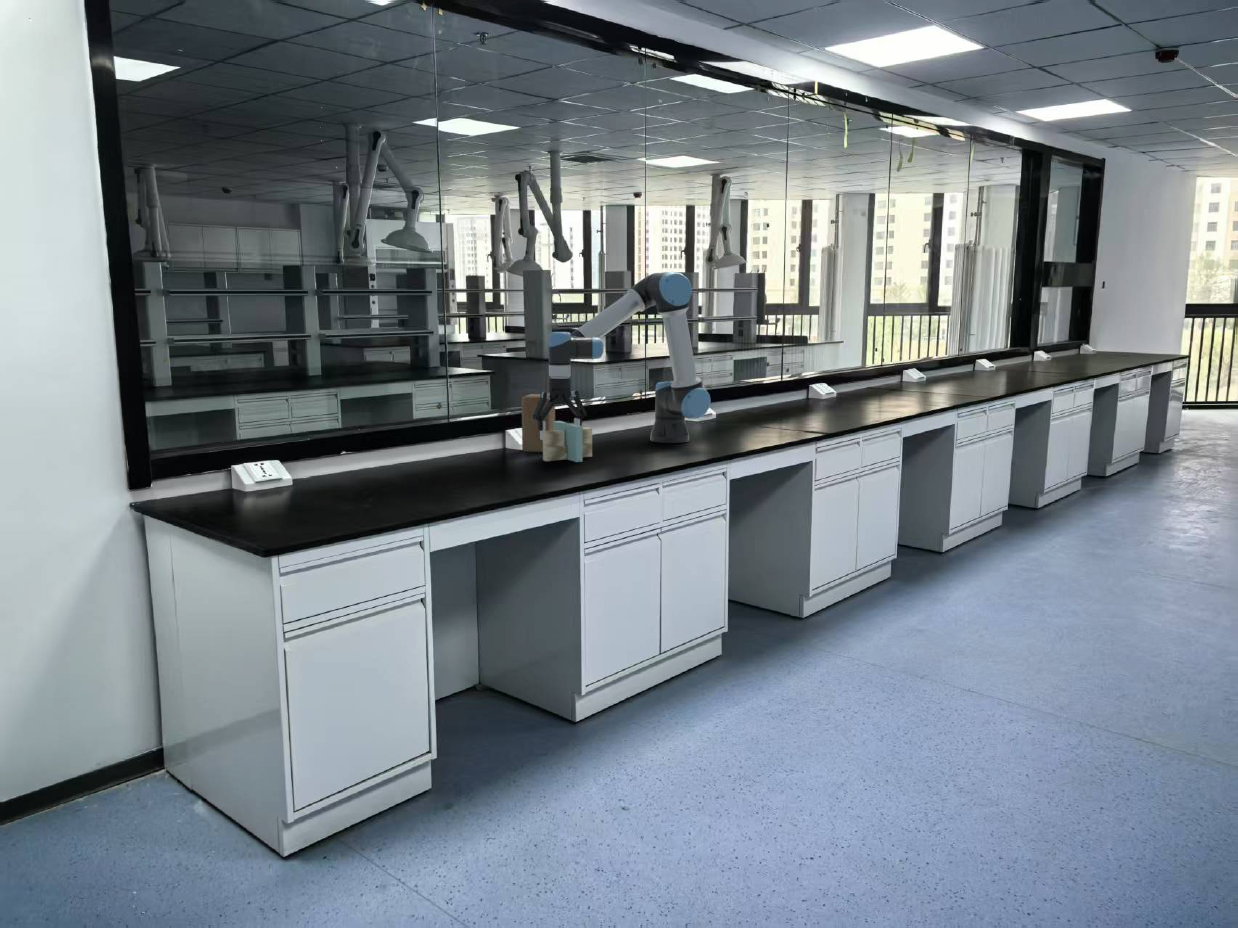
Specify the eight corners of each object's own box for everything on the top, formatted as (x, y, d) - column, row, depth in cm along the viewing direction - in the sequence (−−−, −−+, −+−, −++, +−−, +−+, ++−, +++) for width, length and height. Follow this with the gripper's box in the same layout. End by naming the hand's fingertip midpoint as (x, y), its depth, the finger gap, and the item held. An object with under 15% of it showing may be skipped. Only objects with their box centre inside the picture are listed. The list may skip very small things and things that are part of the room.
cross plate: (553, 455, 312) (553, 421, 310) (559, 454, 313) (559, 420, 311) (576, 462, 299) (576, 426, 297) (582, 461, 300) (582, 426, 298)
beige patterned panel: (588, 455, 312) (588, 427, 310) (592, 456, 310) (592, 428, 308) (543, 460, 302) (542, 431, 300) (546, 461, 300) (546, 431, 298)
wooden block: (548, 453, 316) (547, 397, 313) (521, 452, 318) (520, 396, 315) (555, 448, 326) (555, 394, 322) (529, 447, 328) (529, 393, 324)
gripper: (585, 375, 315) (585, 434, 319) (522, 378, 302) (523, 439, 306) (596, 376, 309) (596, 437, 313) (532, 379, 296) (533, 442, 300)
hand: (560, 438), depth 309 cm, fingers open, 13 cm apart
